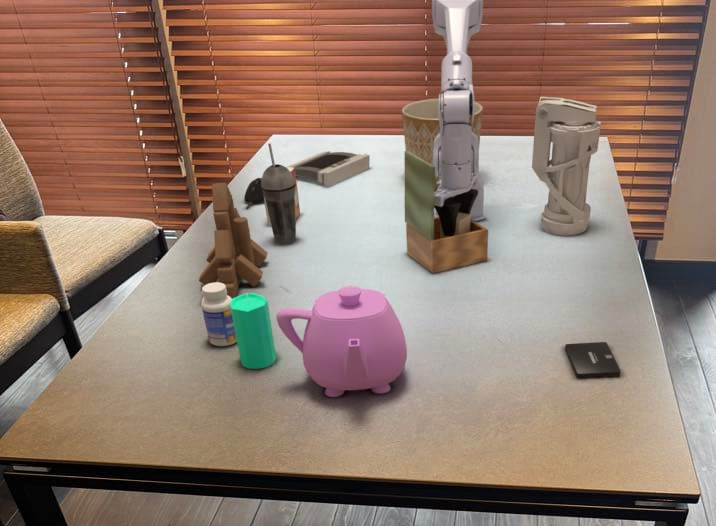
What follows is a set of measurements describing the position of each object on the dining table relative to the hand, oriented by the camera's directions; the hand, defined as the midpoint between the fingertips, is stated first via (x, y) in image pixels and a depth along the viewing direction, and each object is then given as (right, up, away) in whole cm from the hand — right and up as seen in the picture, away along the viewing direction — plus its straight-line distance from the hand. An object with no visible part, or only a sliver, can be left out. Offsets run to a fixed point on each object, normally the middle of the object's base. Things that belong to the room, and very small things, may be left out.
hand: (455, 231), depth 161 cm
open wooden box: (-2, -4, +3) cm, 5 cm away
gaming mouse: (-46, +21, +33) cm, 61 cm away
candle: (-35, -33, -27) cm, 55 cm away
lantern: (+24, +6, +13) cm, 28 cm away
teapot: (-19, -38, -34) cm, 55 cm away
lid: (-7, +4, -8) cm, 11 cm away
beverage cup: (-36, +3, +12) cm, 39 cm away
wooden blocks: (-45, -10, -1) cm, 46 cm away
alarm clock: (-31, +33, +47) cm, 65 cm away
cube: (0, -1, +1) cm, 1 cm away
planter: (-1, +28, +39) cm, 48 cm away
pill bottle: (-42, -28, -21) cm, 55 cm away
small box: (-38, +11, +22) cm, 45 cm away
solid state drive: (+20, -34, -31) cm, 50 cm away
